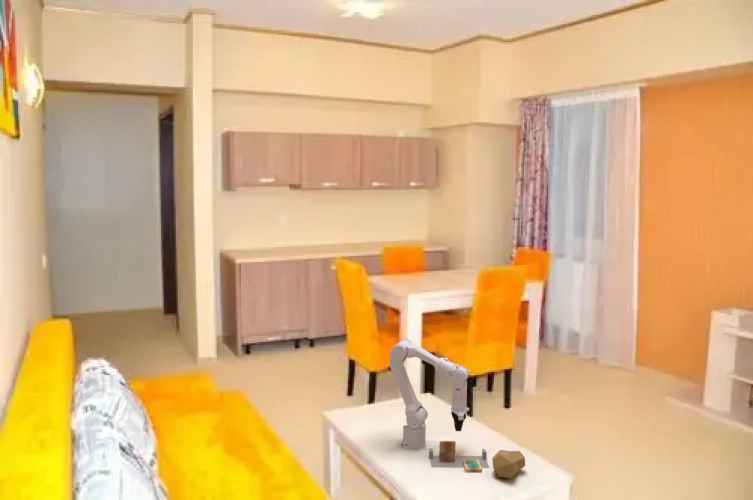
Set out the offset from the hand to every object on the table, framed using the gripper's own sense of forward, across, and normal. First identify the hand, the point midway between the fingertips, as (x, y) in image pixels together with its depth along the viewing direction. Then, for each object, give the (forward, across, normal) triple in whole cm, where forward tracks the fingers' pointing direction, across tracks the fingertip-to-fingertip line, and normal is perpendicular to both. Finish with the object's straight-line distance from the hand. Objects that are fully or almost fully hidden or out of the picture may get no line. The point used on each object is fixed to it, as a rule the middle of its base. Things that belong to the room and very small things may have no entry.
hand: (458, 430), depth 257 cm
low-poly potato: (+10, -18, -17) cm, 26 cm away
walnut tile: (+9, -8, +5) cm, 13 cm away
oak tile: (+9, -8, -4) cm, 13 cm away
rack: (+10, -8, 0) cm, 12 cm away
